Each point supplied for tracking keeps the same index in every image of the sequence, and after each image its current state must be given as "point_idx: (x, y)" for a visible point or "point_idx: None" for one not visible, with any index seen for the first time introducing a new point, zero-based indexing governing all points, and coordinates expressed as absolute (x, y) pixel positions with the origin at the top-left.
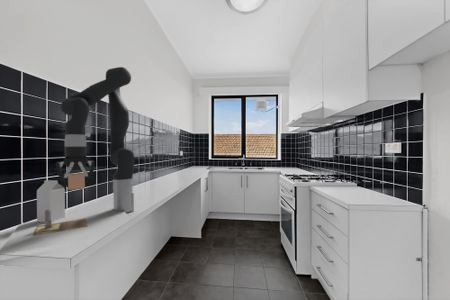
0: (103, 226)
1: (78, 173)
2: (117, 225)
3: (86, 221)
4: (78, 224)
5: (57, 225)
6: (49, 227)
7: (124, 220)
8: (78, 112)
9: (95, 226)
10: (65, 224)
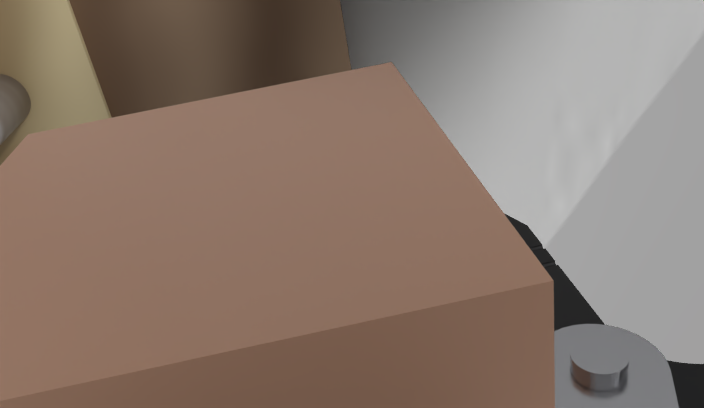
0: (484, 120)
1: (287, 390)
2: (591, 143)
3: (336, 2)
4: (275, 84)
5: (67, 54)
6: (21, 124)
7: (677, 5)
8: None
9: (419, 88)
10: (134, 21)
